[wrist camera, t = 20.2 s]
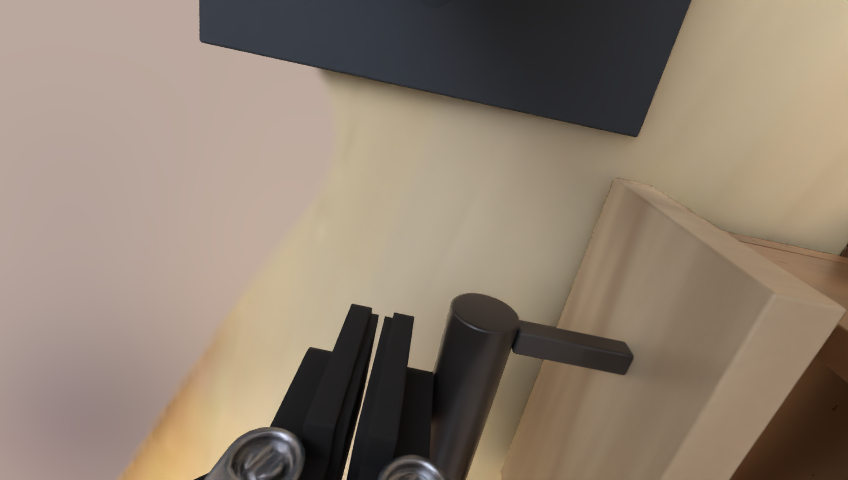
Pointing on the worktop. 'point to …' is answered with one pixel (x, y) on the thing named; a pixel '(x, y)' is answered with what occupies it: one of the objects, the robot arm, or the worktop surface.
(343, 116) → the worktop surface
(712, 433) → the drawer
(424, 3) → the teal blue cylinder
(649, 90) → the mat
